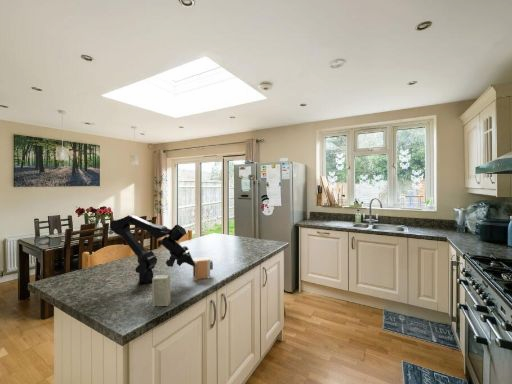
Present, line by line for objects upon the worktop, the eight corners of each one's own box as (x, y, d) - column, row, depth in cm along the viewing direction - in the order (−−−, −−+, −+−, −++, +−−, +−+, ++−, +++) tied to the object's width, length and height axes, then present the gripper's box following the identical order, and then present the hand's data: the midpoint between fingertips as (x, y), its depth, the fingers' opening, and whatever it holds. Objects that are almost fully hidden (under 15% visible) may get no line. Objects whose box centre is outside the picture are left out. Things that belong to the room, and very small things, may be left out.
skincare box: (170, 302, 106) (170, 274, 106) (167, 307, 102) (167, 278, 102) (156, 302, 106) (156, 274, 106) (152, 307, 102) (151, 278, 101)
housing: (193, 279, 133) (193, 261, 133) (192, 275, 139) (192, 258, 139) (212, 277, 136) (212, 259, 136) (211, 273, 142) (211, 256, 142)
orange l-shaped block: (195, 281, 129) (195, 263, 129) (194, 278, 133) (194, 261, 133) (207, 279, 131) (207, 262, 131) (207, 277, 135) (207, 260, 135)
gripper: (162, 253, 134) (183, 271, 137) (158, 263, 116) (183, 284, 119) (177, 238, 136) (197, 256, 139) (176, 245, 118) (199, 266, 121)
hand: (194, 265), depth 130 cm, fingers closed, pressing on orange l-shaped block
